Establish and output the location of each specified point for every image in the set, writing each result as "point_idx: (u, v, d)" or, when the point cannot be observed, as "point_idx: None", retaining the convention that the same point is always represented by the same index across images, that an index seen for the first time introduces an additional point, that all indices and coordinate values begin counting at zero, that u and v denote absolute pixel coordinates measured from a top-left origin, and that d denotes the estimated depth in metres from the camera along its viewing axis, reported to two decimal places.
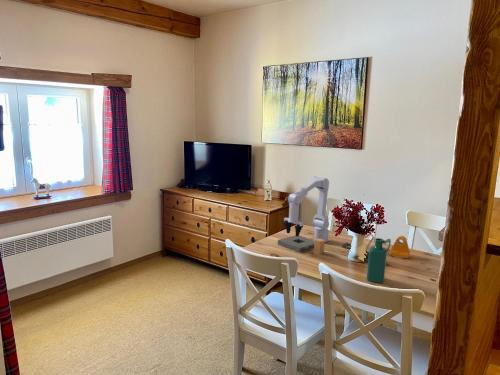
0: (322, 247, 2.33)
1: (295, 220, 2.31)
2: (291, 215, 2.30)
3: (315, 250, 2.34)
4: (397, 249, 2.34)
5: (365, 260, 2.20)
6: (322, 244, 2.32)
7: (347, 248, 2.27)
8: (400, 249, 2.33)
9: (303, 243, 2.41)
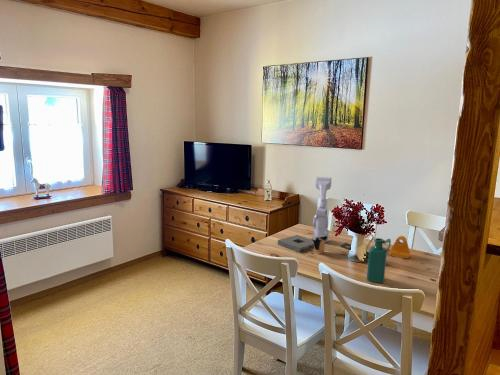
0: (322, 247, 2.33)
1: (316, 233, 2.31)
2: None
3: (315, 250, 2.34)
4: (397, 249, 2.34)
5: (364, 260, 2.20)
6: (322, 243, 2.32)
7: (346, 248, 2.27)
8: (400, 249, 2.33)
9: (303, 243, 2.41)
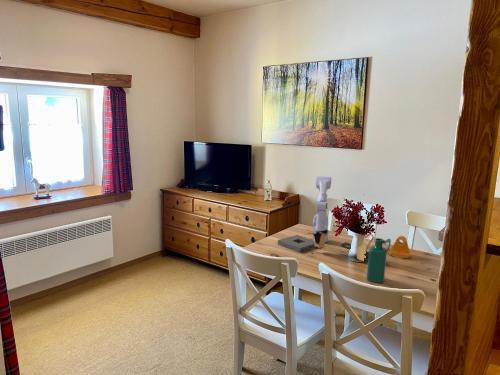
0: (322, 241, 2.32)
1: (316, 227, 2.30)
2: None
3: (315, 244, 2.33)
4: (397, 249, 2.34)
5: None
6: (322, 237, 2.31)
7: (346, 247, 2.28)
8: (400, 249, 2.33)
9: (303, 243, 2.41)
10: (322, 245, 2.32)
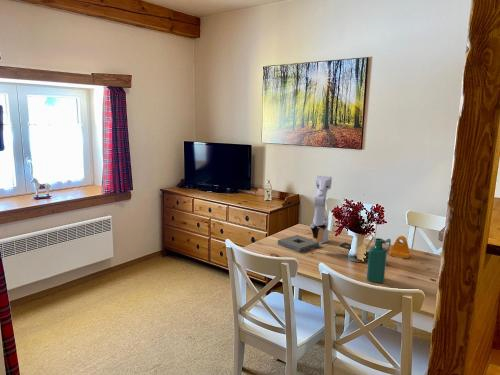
0: (320, 235, 2.32)
1: (314, 222, 2.31)
2: None
3: (314, 238, 2.34)
4: (397, 249, 2.34)
5: None
6: (320, 232, 2.32)
7: (345, 248, 2.28)
8: (400, 249, 2.33)
9: (303, 243, 2.41)
10: (320, 240, 2.33)
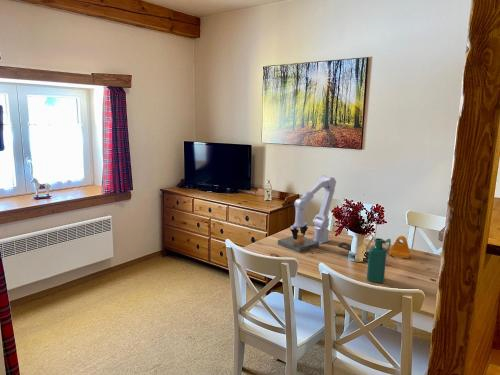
0: (301, 241, 2.43)
1: (295, 223, 2.42)
2: None
3: None
4: (397, 249, 2.34)
5: None
6: (301, 237, 2.43)
7: (343, 248, 2.27)
8: (400, 249, 2.33)
9: (303, 243, 2.41)
10: None
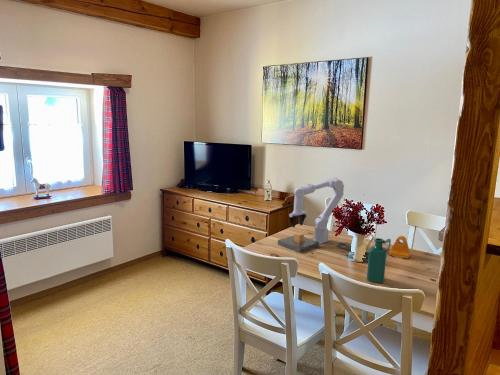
0: (301, 241, 2.43)
1: (294, 211, 2.50)
2: None
3: None
4: (397, 249, 2.34)
5: None
6: (301, 237, 2.43)
7: (342, 248, 2.27)
8: (400, 249, 2.33)
9: (303, 243, 2.41)
10: None
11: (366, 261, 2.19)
